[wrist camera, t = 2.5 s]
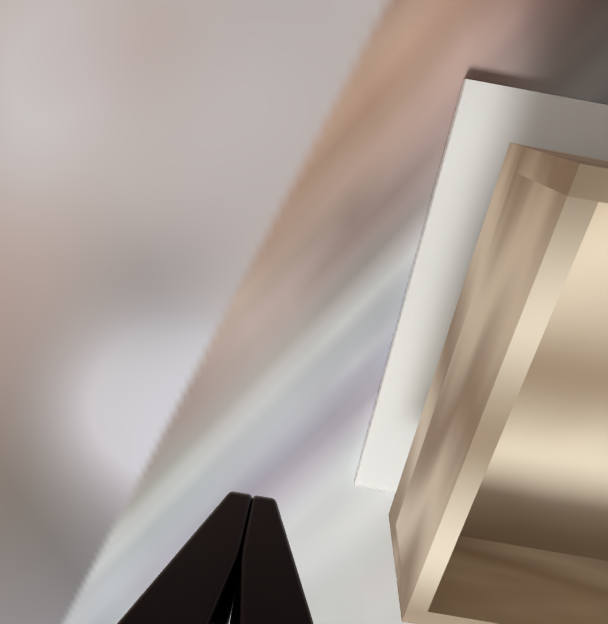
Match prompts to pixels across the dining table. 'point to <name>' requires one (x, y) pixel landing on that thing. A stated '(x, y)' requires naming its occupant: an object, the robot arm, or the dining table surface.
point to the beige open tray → (517, 416)
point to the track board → (461, 247)
